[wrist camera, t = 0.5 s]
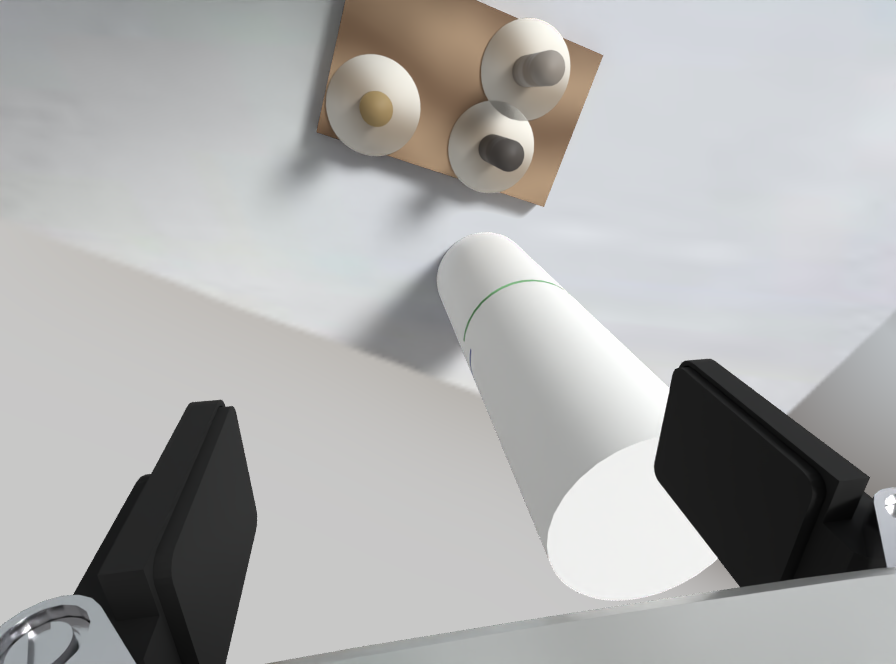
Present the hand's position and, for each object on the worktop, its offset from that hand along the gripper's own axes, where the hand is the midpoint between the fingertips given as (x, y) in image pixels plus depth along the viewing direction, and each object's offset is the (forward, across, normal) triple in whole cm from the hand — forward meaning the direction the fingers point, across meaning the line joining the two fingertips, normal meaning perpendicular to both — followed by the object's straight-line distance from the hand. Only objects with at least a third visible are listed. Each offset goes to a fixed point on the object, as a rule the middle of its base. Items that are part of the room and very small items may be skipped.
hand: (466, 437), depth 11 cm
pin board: (+28, -5, -6) cm, 29 cm away
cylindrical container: (+28, -7, +6) cm, 29 cm away
